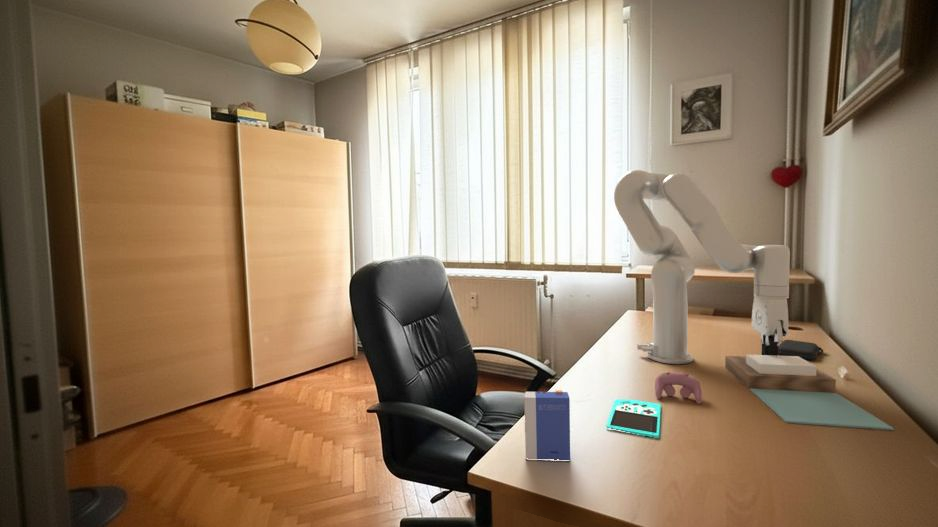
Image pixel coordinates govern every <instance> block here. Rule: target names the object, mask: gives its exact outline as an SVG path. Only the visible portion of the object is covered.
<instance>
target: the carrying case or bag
mask: <svg viewBox="0 0 938 527" xmlns="http://www.w3.org/2000/svg"><path fill="white" fill-rule="evenodd" d="M820 352H821V353H822V354H823V353H824V349H823V348H822V347H820V346H818V345H817V344H816V343H814V342H808V341H807V342H806V341H800V340H793V339H785V340H784V339H783V342H780V343H779V346H778V355H779V356H799V357H800V358H802V359H804V360H806V361H808V362H811V361H813V360H816V359H817V356H818V355H819V353H820Z"/></svg>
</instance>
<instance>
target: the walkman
mask: <svg viewBox="0 0 938 527" xmlns="http://www.w3.org/2000/svg"><path fill="white" fill-rule="evenodd" d="M570 403H571V401H570V395H569V392H568V391H563V390H558V389H557V390H555V391H525V394H524V396H523V414H524V438H525V441H524V442H525V459H526V458H528V459H554V460H557V459H559V460H570V461H571V426H570V425H571V423H570V422H571V420H570V417H571V416H570V415H571V412H570V411H571V410H570V407H571V406H570V405H571V404H570Z"/></svg>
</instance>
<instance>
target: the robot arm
mask: <svg viewBox="0 0 938 527" xmlns="http://www.w3.org/2000/svg"><path fill="white" fill-rule="evenodd" d="M613 200H614V204H615V207H616V209H617V212H618V214H619V215H620V218H621V219H622V221H623V222H624V224H625V226H626V228H627V230H628V232H629V233H630V235H631V237H632V239H633V241H634V242H635V244H636V246H637V248H638V250H639V251H640V252H641V253H642V254H644V255H646V256H648V257H653V258H654V260H655V263H654V264H653V265H652V269H651V272H650V273H651V274H650V278H651V279H650V280H651V288H652V340H650V343H647V344H643V343H637V344H636V350H637V351H642V352H644V353H645V352H647V357H648V358H649V359H650V360H652V361H655V362H659V363H663V364H671V365H685V364H690V363H692V362H693V361H694V356H693V355H692V354H691V353H689V352H688V326H689V325H688V321H689V318H688V317H689V316H688V312H689V308H688V305H689V303H688V302H689V301H688V289H687V288H688V286H687V283H688V282H689V281H690V280H691V279H693V277H694V275H695V269H696V268H695V263H694V262H693V259H692V258H691V256H690V255H689V253H688V251H687V250H686V248H685V246H684V245H683V244H682V242H681V240H680V238H679V237H678V235H677V234H676V233H675V231H674V230H672V229H671V228H670V227H667V226H666V225H661V224H660V223H659V222H658V220H657V218H656V217H655V215H654V213H653V211H652V210H651V209H650V208H649V206H648V205H647V203H646V202H645V200H654V201H664V202H668V203H669V205H671V206H672V208H673V209H674V210H675V212H677V214H678V215H679V216H680V217H681V218H682V220H683V221H684V222H685V223H686V224H687V225H688V227H689V228H690V230H691V232H692V234H693V235H694V236H695V237H696V239H697V241H698V242H699V244H700V245H701V247H702V248H703V249H704V250H705V251H706V253H707V254H708V256H710V258H711V259H712V260H713V261H714V263H715V264H716V265H717V266H718V267H719V268H720V269H721V270H723V271H724V272H726V273H729V274H739V273H743V272H744V271H748V270H749V271H750V270H753V271H754V272H753V303H752V311H751V328H752V329H753V330H754V331H756V332H758V333H759V334H760V342H761V355H775V356H778V346H779V345H780V343H782V342H783V341H784V337H786V336H787V335H788V333H789V308H788V307H789V306H788V299H789V298H790V268H791V267H790V266H791V265H790V264H791V263H790V262H791V259H790V258H791V251H790V248H789V246H787V245H783V244H762V245H754V244H753V245H752V244H744V243H743V244H742V243H740V242H739V240H737V239H736V237H735V236H734V235H733V234H732V233H731V231H730V230H729V229H728V228H727V226H726V225H725V223H724V222H723V219H722V216H721V213H720V211H719V209H718V207H717V206H716V205H715V204H714V203H713V201H712V200H710V198H708V196H707V195H706V194H705V193H704V192H703V191H702V190H701V188H700V186H699V182H698V181H697V179H696V178H695V177H694V176H692V175H689V174H687V173H684V172H675V173H672V174H665V173H656V172H655V173H653V172H648V171H645V170H642V169H641V170H640V169H636V170H635V169H634V170H633V169H632V170H629V171H627V172H626V173H624V174H623V175H621V177H620V178H619V179H618V181H617V183H616V185H615V189H614V194H613Z"/></svg>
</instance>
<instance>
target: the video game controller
mask: <svg viewBox="0 0 938 527" xmlns="http://www.w3.org/2000/svg"><path fill="white" fill-rule="evenodd" d="M676 385H677V386H681V388H680V390H679V395H680V396H681V397H682V398H683V399H689V397H690V396H691V395H693V396H694V399H695V402H696V404H697V405H701V403H702V398H703V397H702V388H701V387H702V386H701V383H700V381H699V379H697V378H696V377H695V376H693V375H691V374H687V373H684V372H680V371H679V372H678V371H677V372H676V371H668V372H662V373H660V374H658V375H657V376H656V378H655V383H654V391H655V397H656V399H657V400H660V399H661V398H662V394H663V391H664V393H665V394H666V396H668V397H674V396H675V395H676V389H675V386H676Z"/></svg>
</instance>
